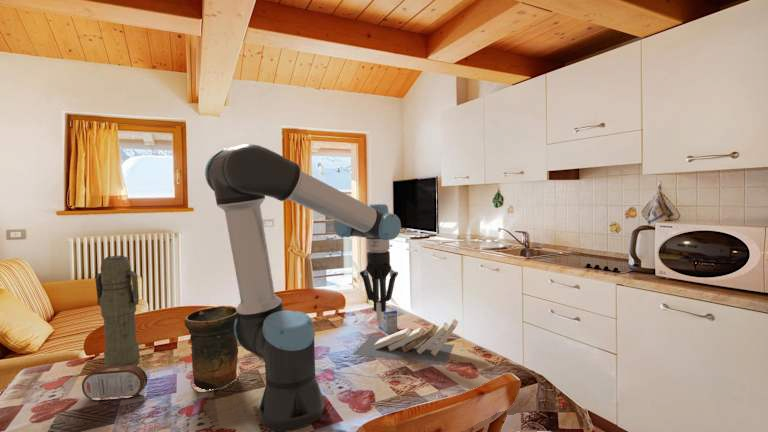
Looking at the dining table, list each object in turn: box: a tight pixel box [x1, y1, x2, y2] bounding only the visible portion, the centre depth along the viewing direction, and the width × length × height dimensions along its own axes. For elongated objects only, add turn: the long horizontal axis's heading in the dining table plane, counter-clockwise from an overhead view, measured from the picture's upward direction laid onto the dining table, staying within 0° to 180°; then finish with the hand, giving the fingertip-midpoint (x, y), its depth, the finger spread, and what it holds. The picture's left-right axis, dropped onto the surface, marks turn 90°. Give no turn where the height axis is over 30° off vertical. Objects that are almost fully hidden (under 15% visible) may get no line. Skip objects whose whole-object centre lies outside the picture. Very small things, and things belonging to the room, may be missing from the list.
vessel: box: [183, 305, 240, 391], centre depth 113 cm, size 14×14×20 cm
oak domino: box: [402, 324, 438, 352], centre depth 128 cm, size 2×5×12 cm
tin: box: [81, 365, 148, 400], centre depth 104 cm, size 15×3×8 cm, turn 98°
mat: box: [352, 336, 455, 366], centre depth 130 cm, size 16×30×1 cm, turn 71°
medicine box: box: [377, 305, 398, 335], centre depth 149 cm, size 8×4×9 cm, turn 25°
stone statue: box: [94, 255, 141, 367], centre depth 121 cm, size 9×12×35 cm
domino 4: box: [431, 318, 459, 356], centre depth 125 cm, size 2×5×12 cm
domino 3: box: [417, 321, 450, 354], centre depth 127 cm, size 2×5×12 cm
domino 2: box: [388, 326, 425, 351], centre depth 130 cm, size 2×5×12 cm
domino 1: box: [374, 327, 412, 349], centre depth 131 cm, size 2×5×12 cm
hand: (380, 320), depth 132 cm, fingers closed
